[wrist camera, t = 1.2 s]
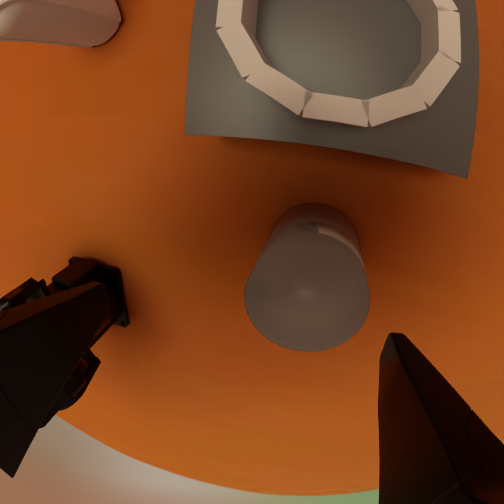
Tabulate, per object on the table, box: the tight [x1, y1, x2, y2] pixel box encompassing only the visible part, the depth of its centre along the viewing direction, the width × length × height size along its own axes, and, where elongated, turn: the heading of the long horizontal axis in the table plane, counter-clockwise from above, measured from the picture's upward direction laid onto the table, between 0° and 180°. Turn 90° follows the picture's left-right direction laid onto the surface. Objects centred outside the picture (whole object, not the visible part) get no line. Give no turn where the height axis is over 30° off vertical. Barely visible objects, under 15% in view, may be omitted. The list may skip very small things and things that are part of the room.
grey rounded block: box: [244, 203, 370, 352], centre depth 17 cm, size 6×6×7 cm
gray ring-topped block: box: [185, 0, 479, 179], centre depth 11 cm, size 12×14×8 cm
